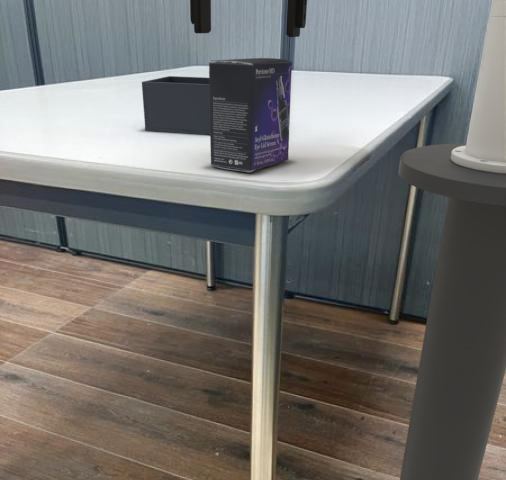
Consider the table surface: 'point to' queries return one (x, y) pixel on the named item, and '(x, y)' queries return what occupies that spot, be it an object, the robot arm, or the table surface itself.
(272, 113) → the box
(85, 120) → the table surface
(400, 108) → the table surface
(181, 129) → the box
